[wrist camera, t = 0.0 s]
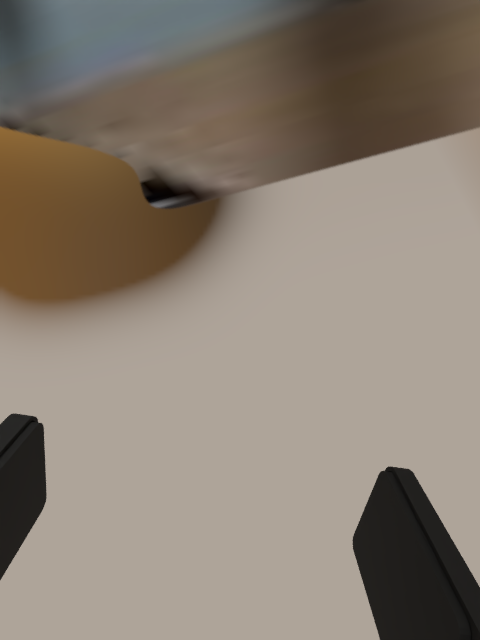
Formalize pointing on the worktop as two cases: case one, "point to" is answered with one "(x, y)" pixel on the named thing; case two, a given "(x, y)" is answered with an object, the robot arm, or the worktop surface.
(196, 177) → the worktop surface
